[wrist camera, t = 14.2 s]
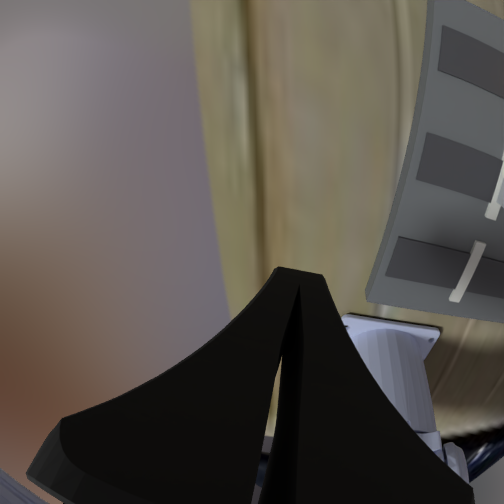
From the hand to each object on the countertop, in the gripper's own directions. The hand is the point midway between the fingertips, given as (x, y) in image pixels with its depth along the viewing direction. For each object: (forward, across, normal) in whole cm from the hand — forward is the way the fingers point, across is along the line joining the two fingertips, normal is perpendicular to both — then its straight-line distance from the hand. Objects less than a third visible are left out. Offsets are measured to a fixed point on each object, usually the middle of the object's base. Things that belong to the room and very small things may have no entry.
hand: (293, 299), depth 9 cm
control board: (+10, -14, -4) cm, 18 cm away
